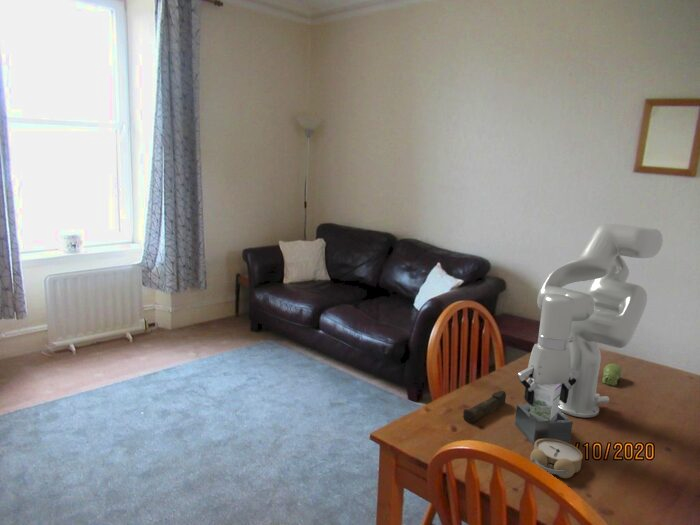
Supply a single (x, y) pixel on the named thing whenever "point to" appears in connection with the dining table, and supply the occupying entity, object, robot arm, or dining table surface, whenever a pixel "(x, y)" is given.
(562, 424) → the socket holder
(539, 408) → the syrup box
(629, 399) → the dining table surface
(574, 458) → the alarm clock
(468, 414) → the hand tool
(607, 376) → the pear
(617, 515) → the dining table surface
